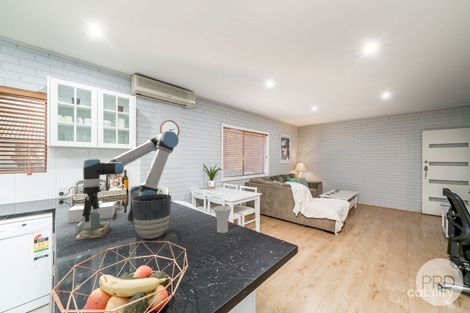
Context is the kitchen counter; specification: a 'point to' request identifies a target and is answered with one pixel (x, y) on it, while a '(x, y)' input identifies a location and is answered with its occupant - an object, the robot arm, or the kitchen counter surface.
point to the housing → (94, 232)
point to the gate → (79, 227)
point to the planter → (151, 214)
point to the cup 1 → (93, 222)
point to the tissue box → (104, 210)
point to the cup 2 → (222, 218)
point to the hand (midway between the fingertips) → (91, 223)
